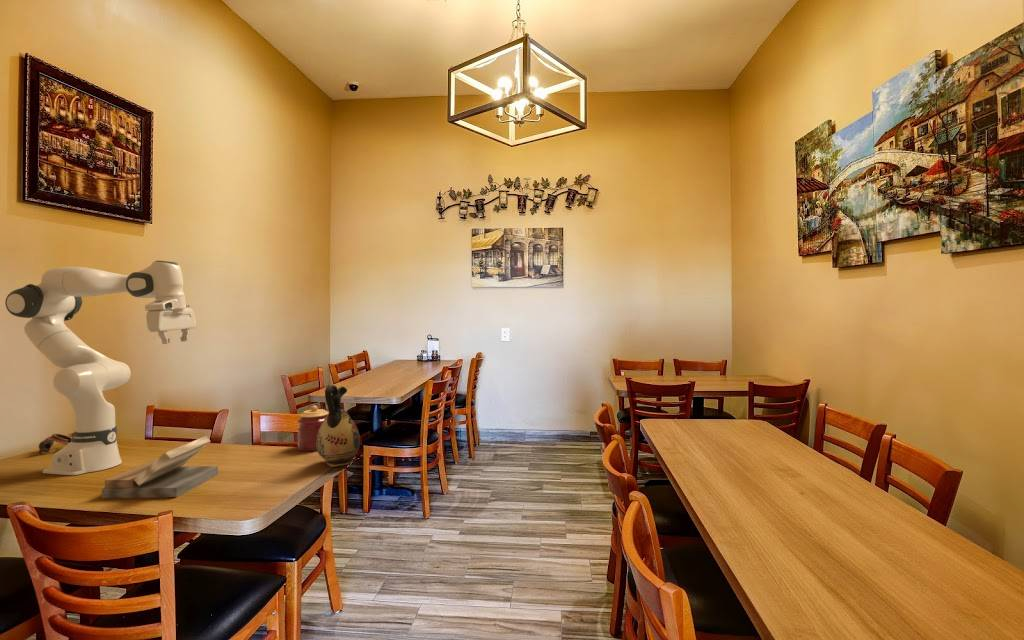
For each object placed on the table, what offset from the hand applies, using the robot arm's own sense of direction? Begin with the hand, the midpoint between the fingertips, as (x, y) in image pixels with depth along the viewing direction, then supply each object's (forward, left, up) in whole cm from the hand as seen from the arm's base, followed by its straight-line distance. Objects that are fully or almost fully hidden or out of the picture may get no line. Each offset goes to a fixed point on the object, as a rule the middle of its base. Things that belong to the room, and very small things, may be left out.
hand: (175, 342), depth 169 cm
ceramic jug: (+58, +2, -47) cm, 74 cm away
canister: (+40, +24, -47) cm, 66 cm away
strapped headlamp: (-68, +22, -47) cm, 86 cm away
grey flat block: (+8, -18, -46) cm, 50 cm away
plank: (+12, -18, -39) cm, 44 cm away
